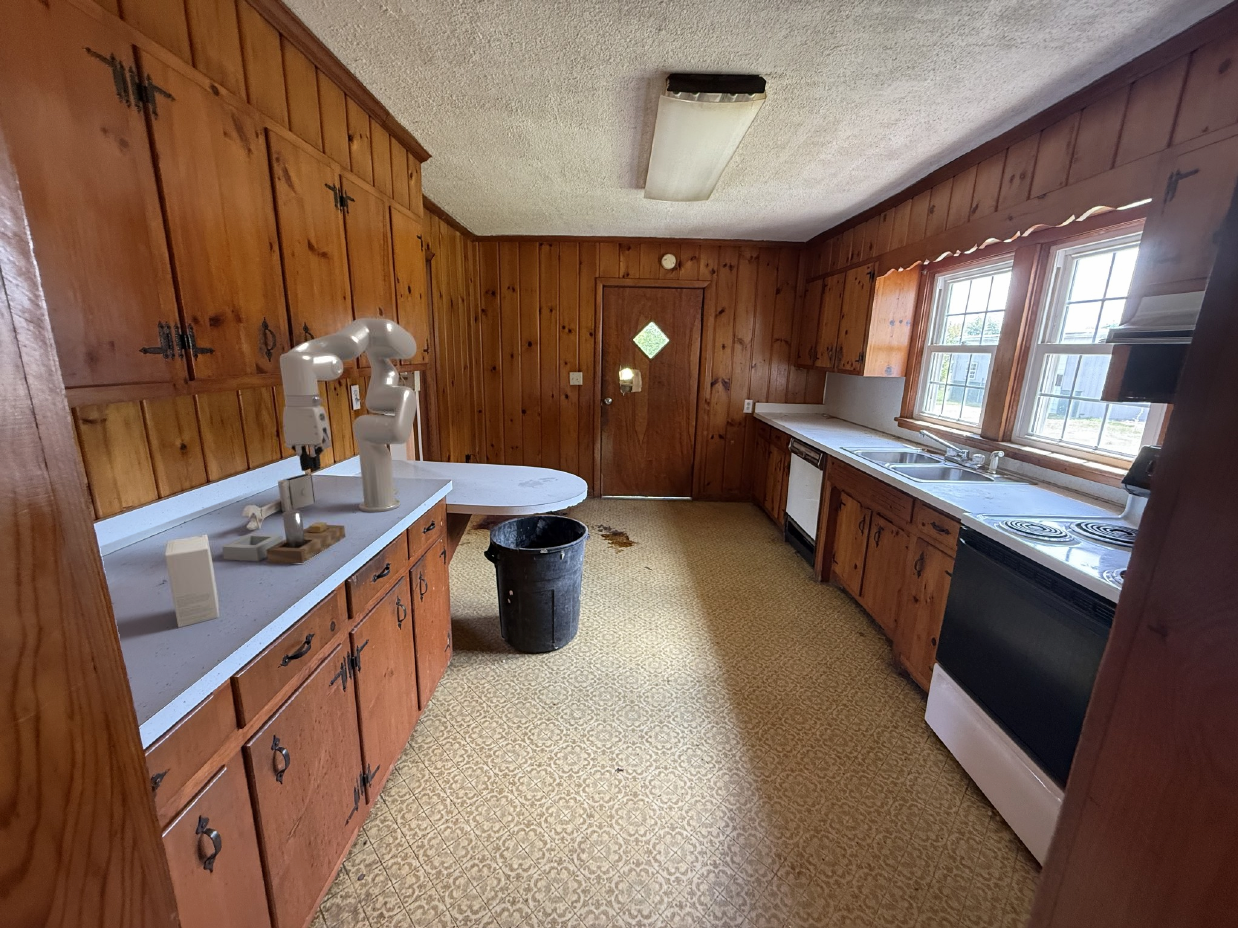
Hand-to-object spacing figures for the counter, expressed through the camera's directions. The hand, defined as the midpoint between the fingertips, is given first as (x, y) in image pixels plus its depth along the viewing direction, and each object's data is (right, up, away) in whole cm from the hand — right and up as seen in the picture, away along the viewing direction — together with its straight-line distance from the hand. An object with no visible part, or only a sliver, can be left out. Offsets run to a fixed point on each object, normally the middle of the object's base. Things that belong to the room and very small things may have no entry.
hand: (311, 469), depth 130 cm
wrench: (-27, -16, +22) cm, 38 cm away
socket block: (-1, -22, +1) cm, 22 cm away
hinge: (-25, -14, +32) cm, 43 cm away
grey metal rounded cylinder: (-1, -23, -4) cm, 23 cm away
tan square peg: (-1, -20, +5) cm, 21 cm away
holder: (-13, -22, -3) cm, 26 cm away
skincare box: (-3, -30, -31) cm, 43 cm away
